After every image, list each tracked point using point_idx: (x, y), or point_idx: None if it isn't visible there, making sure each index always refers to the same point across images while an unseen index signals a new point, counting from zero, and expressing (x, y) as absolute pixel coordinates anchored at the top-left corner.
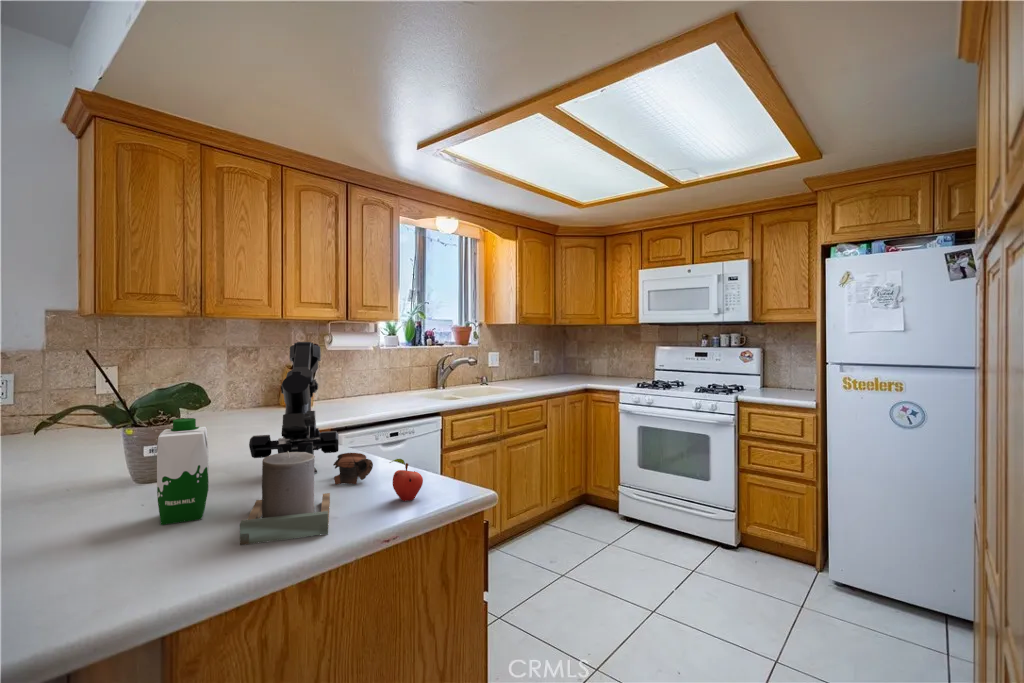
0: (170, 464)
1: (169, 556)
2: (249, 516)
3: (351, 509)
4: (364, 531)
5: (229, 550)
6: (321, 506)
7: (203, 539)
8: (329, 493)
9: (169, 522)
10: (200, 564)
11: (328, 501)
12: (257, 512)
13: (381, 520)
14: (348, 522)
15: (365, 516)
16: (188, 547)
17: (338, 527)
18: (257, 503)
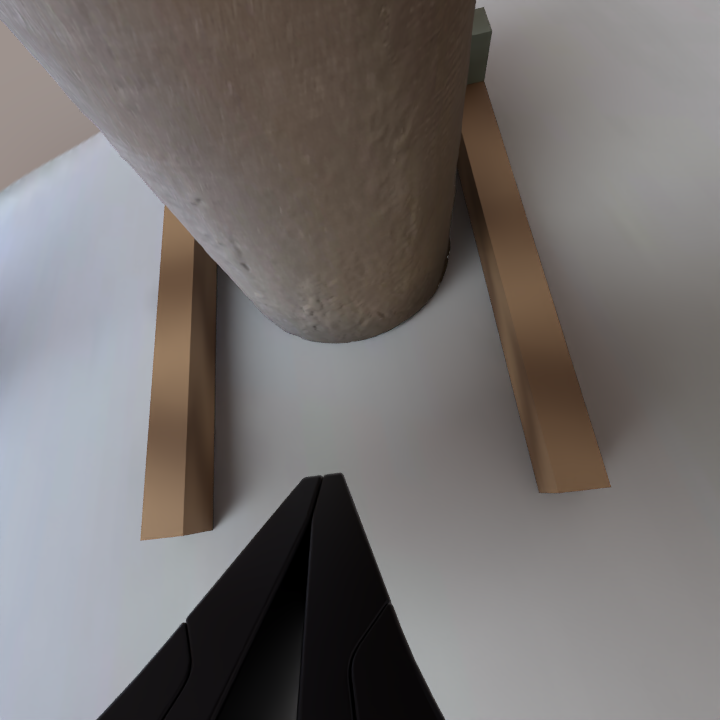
0: None
1: (685, 39)
2: (521, 216)
3: (88, 389)
4: (82, 174)
5: (490, 71)
6: (191, 307)
7: (649, 146)
8: (143, 531)
9: None
10: (537, 3)
11: (156, 376)
12: (501, 262)
13: (10, 254)
14: (119, 248)
15: (51, 298)
16: (663, 91)
17: (156, 209)
18: (569, 410)
